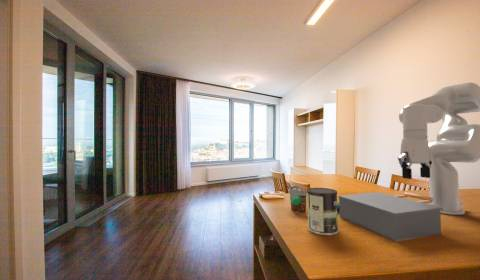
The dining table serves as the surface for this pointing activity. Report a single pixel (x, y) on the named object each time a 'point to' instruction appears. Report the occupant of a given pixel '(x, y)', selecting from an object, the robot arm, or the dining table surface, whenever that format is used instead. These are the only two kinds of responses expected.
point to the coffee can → (322, 211)
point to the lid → (393, 203)
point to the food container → (298, 199)
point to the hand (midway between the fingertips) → (416, 177)
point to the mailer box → (392, 222)
